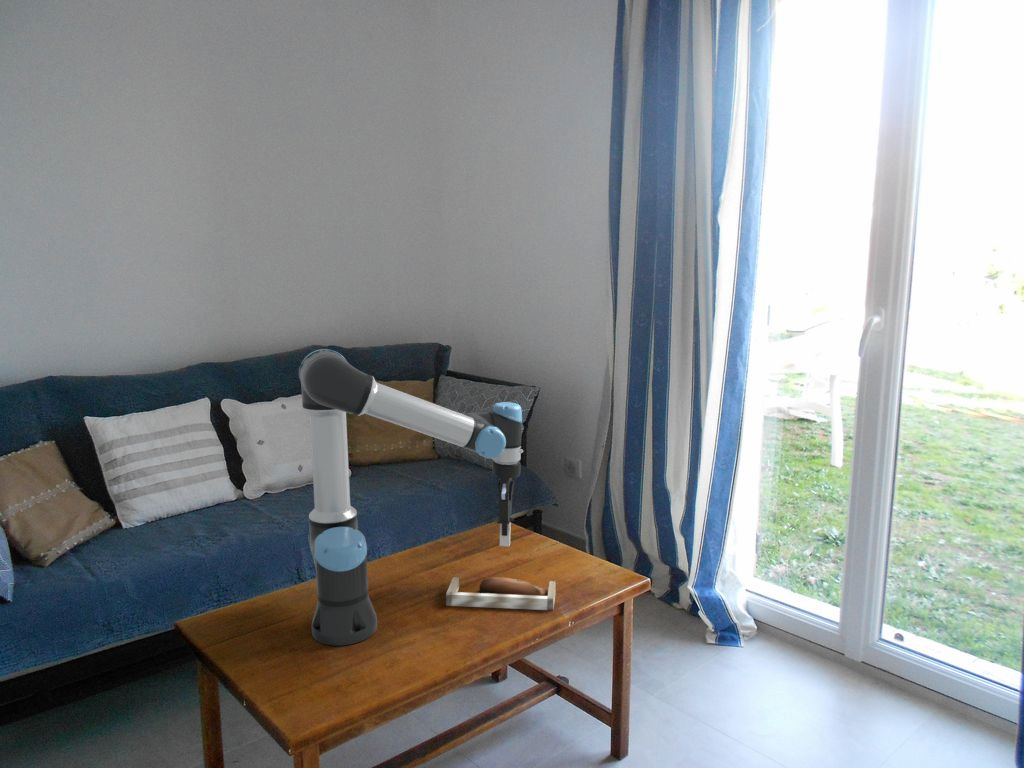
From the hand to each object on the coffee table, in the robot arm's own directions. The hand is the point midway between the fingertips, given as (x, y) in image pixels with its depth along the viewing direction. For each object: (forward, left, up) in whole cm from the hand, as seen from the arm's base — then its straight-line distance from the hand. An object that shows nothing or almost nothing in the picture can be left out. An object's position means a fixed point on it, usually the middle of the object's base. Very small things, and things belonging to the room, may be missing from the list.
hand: (504, 545), depth 203 cm
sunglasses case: (+4, -9, -10) cm, 14 cm away
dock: (+1, -13, -9) cm, 16 cm away
